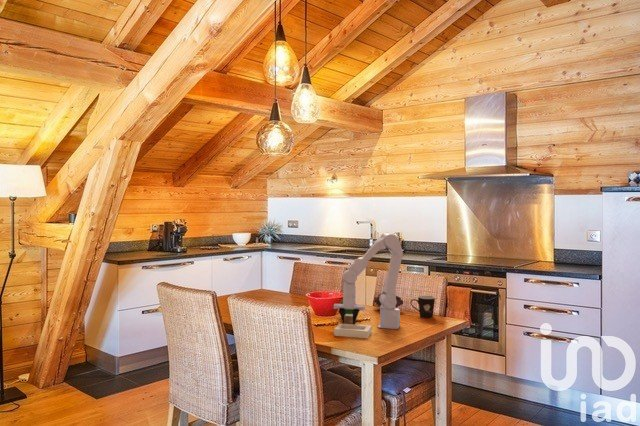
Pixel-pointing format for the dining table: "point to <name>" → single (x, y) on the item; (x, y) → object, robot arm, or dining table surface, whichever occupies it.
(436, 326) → the dining table surface
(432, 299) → the coffee mug
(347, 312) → the bell pepper
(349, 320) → the bracket block
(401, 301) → the pine cone
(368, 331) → the well trough
